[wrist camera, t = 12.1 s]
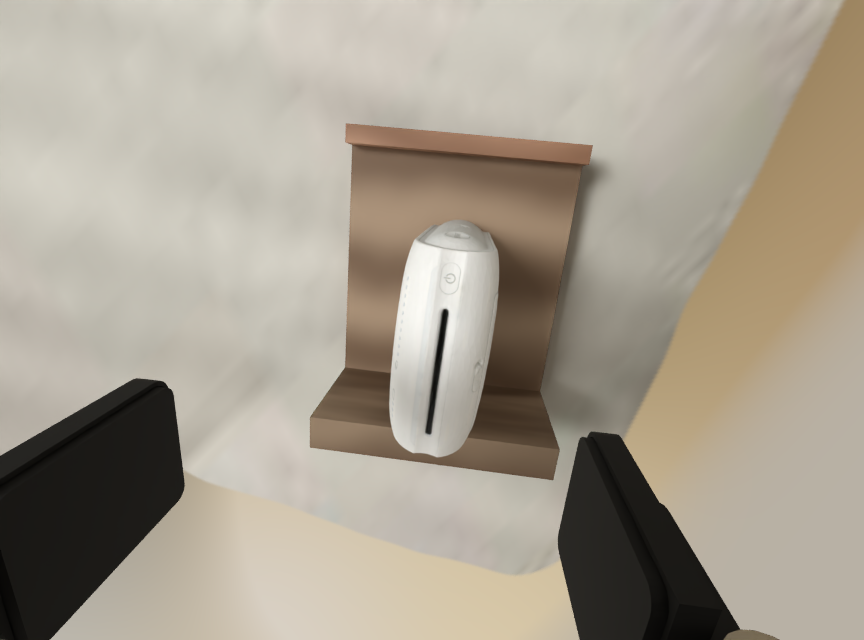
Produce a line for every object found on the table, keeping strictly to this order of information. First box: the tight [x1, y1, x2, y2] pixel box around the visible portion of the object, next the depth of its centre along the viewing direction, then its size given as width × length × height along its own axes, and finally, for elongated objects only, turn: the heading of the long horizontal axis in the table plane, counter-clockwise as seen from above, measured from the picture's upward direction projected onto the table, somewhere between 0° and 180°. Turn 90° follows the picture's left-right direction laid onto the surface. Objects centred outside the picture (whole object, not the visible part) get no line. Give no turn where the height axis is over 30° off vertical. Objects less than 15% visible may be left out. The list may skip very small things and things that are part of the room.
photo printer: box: [389, 220, 499, 457], centre depth 22 cm, size 10×4×12 cm, turn 173°
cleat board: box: [310, 124, 593, 480], centre depth 26 cm, size 18×14×10 cm
